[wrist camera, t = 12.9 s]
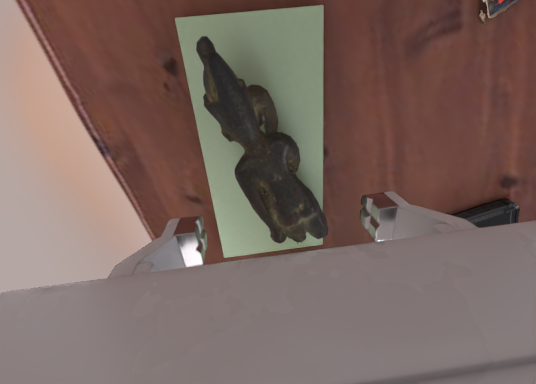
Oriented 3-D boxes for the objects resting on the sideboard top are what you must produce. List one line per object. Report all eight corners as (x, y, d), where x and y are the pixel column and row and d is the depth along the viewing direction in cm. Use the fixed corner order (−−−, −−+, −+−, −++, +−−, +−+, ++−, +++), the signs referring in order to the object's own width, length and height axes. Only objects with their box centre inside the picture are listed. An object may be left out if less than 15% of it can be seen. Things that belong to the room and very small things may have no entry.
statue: (319, 206, 29) (228, 16, 18) (346, 236, 25) (249, 8, 13) (272, 236, 29) (150, 65, 17) (292, 271, 25) (145, 74, 13)
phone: (513, 252, 32) (396, 289, 32) (505, 247, 33) (392, 283, 33) (520, 199, 28) (390, 242, 29) (511, 195, 29) (385, 236, 30)
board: (178, 20, 19) (174, 17, 18) (319, 8, 20) (323, 4, 19) (224, 251, 29) (224, 257, 28) (319, 238, 29) (322, 244, 28)
